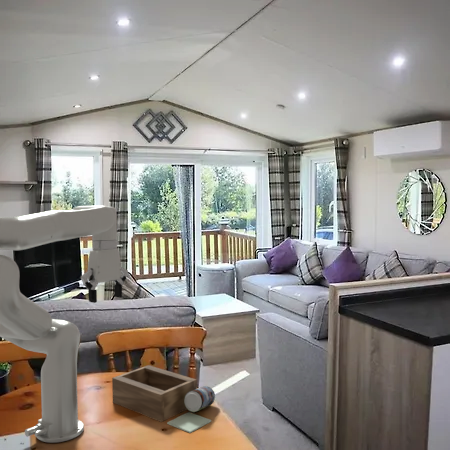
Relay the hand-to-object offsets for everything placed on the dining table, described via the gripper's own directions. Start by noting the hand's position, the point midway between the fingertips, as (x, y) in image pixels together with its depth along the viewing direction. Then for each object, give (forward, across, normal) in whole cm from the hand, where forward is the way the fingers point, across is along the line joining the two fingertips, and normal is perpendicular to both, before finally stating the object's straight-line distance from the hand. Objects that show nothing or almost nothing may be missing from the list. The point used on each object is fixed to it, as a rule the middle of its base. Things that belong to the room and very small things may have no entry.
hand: (105, 299), depth 152 cm
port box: (+33, -9, +12) cm, 37 cm away
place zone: (+33, -6, +30) cm, 45 cm away
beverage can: (+29, -8, +29) cm, 42 cm away
